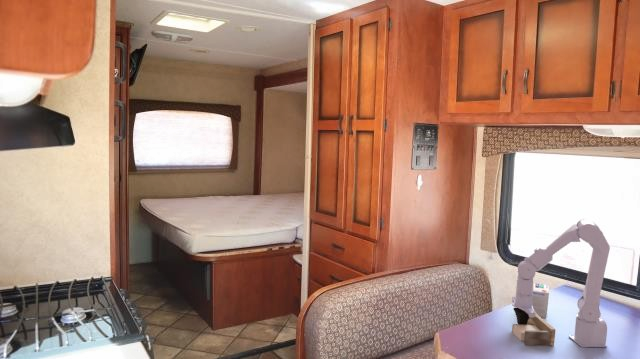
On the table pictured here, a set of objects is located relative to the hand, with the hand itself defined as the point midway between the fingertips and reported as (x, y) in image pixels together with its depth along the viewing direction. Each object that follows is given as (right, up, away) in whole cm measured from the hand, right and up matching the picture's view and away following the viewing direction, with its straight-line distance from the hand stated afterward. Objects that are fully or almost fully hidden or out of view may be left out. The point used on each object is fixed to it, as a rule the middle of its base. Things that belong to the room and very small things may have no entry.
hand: (521, 327), depth 173 cm
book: (0, -2, -4) cm, 5 cm away
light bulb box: (+14, +1, +17) cm, 23 cm away
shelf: (0, -1, -3) cm, 3 cm away
